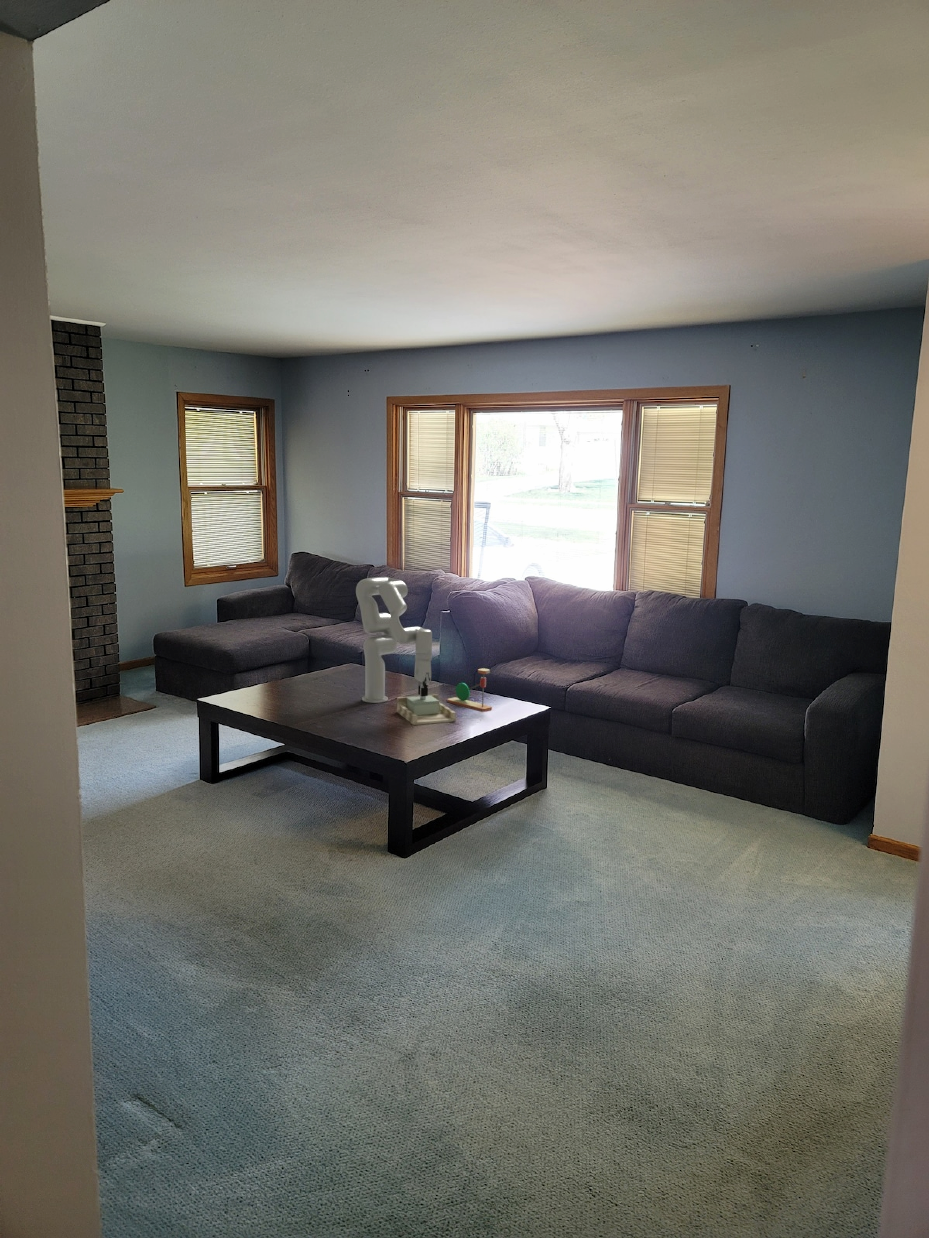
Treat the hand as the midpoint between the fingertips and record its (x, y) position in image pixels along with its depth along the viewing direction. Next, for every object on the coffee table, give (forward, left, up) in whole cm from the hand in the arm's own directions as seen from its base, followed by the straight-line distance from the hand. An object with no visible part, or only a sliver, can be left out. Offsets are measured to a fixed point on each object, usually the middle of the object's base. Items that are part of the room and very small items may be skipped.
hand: (423, 694), depth 406 cm
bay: (+4, 0, -9) cm, 10 cm away
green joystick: (0, 0, -8) cm, 8 cm away
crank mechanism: (-8, +27, -9) cm, 30 cm away
